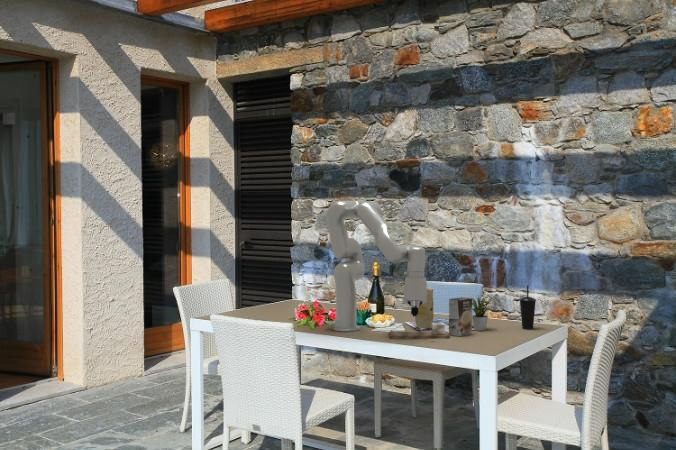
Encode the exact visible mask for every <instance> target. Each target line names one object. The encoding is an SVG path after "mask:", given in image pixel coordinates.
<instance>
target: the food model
mask: <svg viewBox="0 0 676 450" xmlns="http://www.w3.org/2000/svg"><path fill="white" fill-rule="evenodd" d="M415 305H416V301H414V306H415ZM414 321H415V325H416V328H417V327H419V328H432V323H434V289H433V288H432V287H430V286H427V303H424V304H421V305H420V306H419V307H418V314H417V317H415V316H414ZM419 328H418V329H419Z"/></svg>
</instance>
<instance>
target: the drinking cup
mask: <svg viewBox="0 0 676 450" xmlns="http://www.w3.org/2000/svg"><path fill="white" fill-rule="evenodd" d="M518 300H519V305H520V316H521V328H522V329H523V330H533V329H534V324H535V323H534V321H535V312H536V311H535V310H536V302H537V299H536V298H534V297H532V296H529V285H526V296H523V297H521V298H519V299H518Z"/></svg>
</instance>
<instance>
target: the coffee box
mask: <svg viewBox="0 0 676 450" xmlns="http://www.w3.org/2000/svg"><path fill="white" fill-rule="evenodd" d="M472 298H473V297H472ZM472 298H471V297H454V298H449V299H448V334H449V335H450V336H455V337H463V336H469V335H472V334H473V318H472V316H473V310H472V309H473V305H472V303H473V300H472Z"/></svg>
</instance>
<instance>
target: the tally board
mask: <svg viewBox="0 0 676 450" xmlns="http://www.w3.org/2000/svg"><path fill="white" fill-rule="evenodd" d="M388 337H389V339H391V340H392V339H393V340H394V339H395V340H398V339H399V340H400V339H401V340H403V339H405V340H406V339H410V340H412V339H451V335H449V331H446V330H445V334H433V333H432V330H431V331H427V330H426V331H425V330H424V331H423V330H422V331H388Z"/></svg>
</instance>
